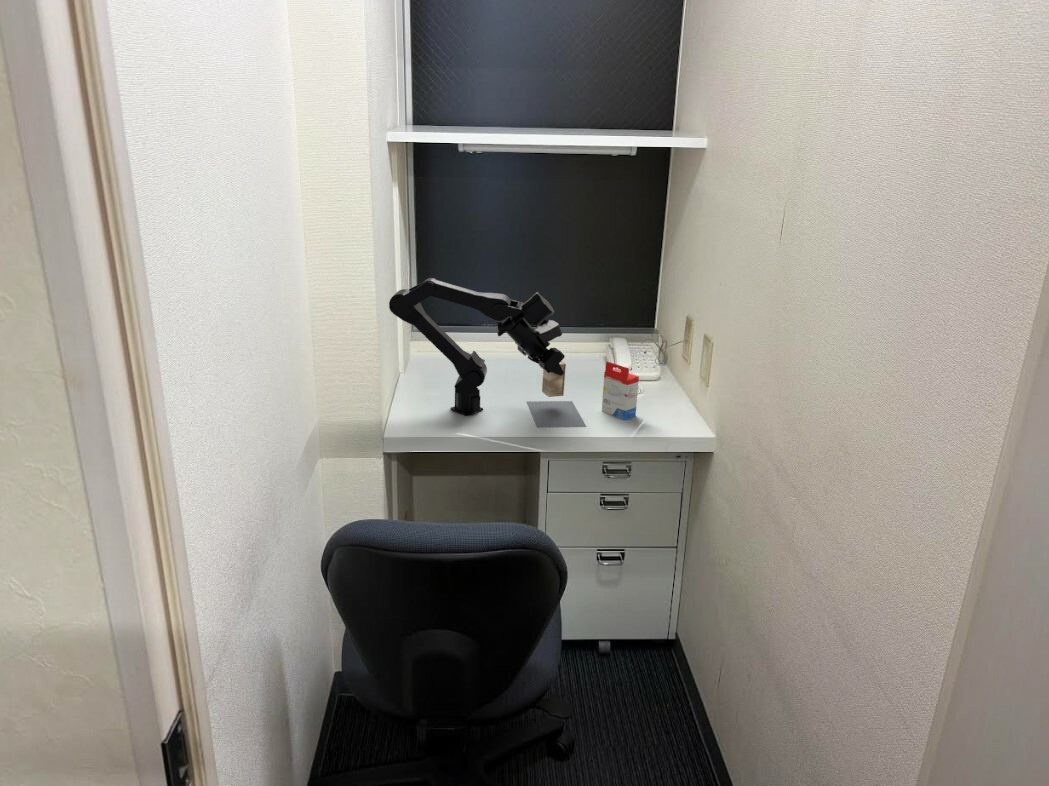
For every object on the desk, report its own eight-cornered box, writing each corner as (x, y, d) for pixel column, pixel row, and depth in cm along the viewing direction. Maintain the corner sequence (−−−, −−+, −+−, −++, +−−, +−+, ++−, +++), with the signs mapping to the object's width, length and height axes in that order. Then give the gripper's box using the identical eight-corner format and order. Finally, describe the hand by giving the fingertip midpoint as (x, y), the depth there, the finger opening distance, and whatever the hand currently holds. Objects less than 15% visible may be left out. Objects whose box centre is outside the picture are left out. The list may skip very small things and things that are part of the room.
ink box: (636, 417, 213) (641, 365, 208) (624, 421, 210) (629, 369, 205) (612, 408, 219) (616, 357, 214) (600, 412, 215) (604, 360, 211)
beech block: (548, 397, 212) (550, 365, 209) (541, 391, 216) (544, 360, 213) (563, 395, 213) (565, 364, 210) (556, 390, 217) (558, 359, 214)
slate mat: (586, 428, 204) (586, 426, 204) (536, 428, 202) (537, 427, 202) (571, 402, 222) (571, 401, 221) (526, 402, 220) (526, 401, 219)
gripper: (560, 321, 197) (595, 360, 205) (530, 303, 213) (564, 340, 221) (529, 353, 197) (566, 391, 205) (502, 333, 213) (536, 369, 221)
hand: (558, 371), depth 213 cm, fingers closed on beech block, 4 cm apart
